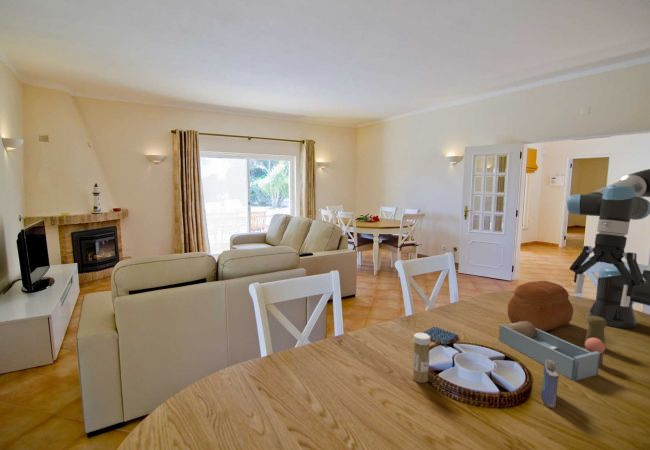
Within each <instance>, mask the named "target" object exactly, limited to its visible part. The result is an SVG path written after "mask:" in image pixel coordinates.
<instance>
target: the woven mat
mask: <svg viewBox="0 0 650 450" xmlns="http://www.w3.org/2000/svg"><path fill="white" fill-rule="evenodd" d="M423 333H425V334H428V335H429V336H430V342H432V343H436V344H438V345H441V344H446V343H449V342H452V343H453V342H456V341H457V340H459V338H460V337H459V334H457V333H455V332H450V331H448V330H445V329H443V328H439V327H437V326H436V327H434V326H432V327H430V329H429V328H428V329H427V330H425V331H423ZM440 343H441V344H440Z"/></svg>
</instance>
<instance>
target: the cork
mask: <svg viewBox="0 0 650 450" xmlns="http://www.w3.org/2000/svg"><path fill="white" fill-rule="evenodd" d="M587 324H588V328H587V331H586V335H585V338H584V341H583V346H584V347H585V342H586V340H587V339H589V338H597V339H599V340H601V341H602V342H603V343H604V345H605V346H606V338H605V328H606V327H607V326H608V325H607V322H606V320H605V319H604V318H601V317H598V316H590V317H589V316H588V317H587ZM605 351H606V349H605V350H604V352H605Z"/></svg>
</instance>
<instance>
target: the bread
mask: <svg viewBox="0 0 650 450" xmlns="http://www.w3.org/2000/svg"><path fill="white" fill-rule="evenodd" d="M569 297H570V295H569V292H568V290H567V289H566V288H564V287H563V286H562V285H561V284H558V283H556V282H552V281H547V280H538V281H537V280H536V281H529V282H525V283H523V284H520V285H517V286H516V288H515V289H514V294H513V296H512V297H511V298H510V300H509V301H508V303H507V317H508V319H509V321H510V322H512V323H517V322H519V321H521V322H523V321H528V322H530V323H531V324H533V326H534V327H535V328H537V329H539V330H541V331H544V332H548V331H551V330H554V329H557V328H559V327H564V326H566V325H568V324H569V323H570V322H571V321H572V318H573V315H574V307H573V305H572V302H570V299H569Z"/></svg>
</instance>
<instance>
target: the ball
mask: <svg viewBox="0 0 650 450" xmlns="http://www.w3.org/2000/svg"><path fill="white" fill-rule="evenodd" d="M584 347H585V348H586V349H585V350H588V351H589V352H596V351H597V352H599V353H600V354H601V353H602V354H604V352H605V351H606V344H605V345H604V343H603V342H602V341H601V340H599V339H597V338H589V339H587V340H586V342H585V346H584ZM604 350H605V351H604Z"/></svg>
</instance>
